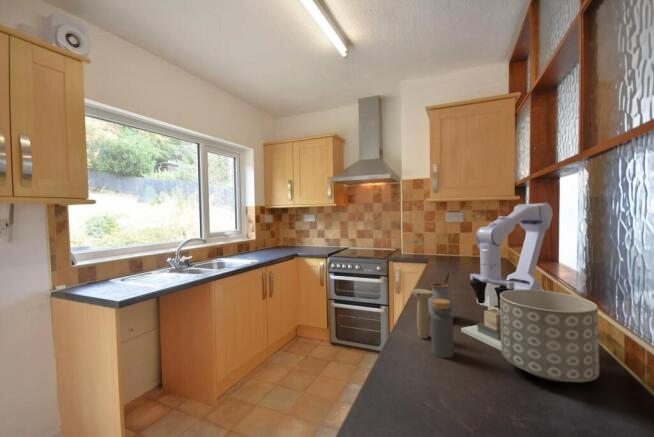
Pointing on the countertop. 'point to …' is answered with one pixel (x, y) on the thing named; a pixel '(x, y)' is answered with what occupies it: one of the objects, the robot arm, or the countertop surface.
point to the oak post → (492, 319)
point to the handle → (422, 311)
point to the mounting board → (482, 337)
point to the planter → (550, 334)
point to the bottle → (442, 329)
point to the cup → (490, 295)
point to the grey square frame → (489, 331)
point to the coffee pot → (440, 296)
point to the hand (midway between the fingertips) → (491, 306)
